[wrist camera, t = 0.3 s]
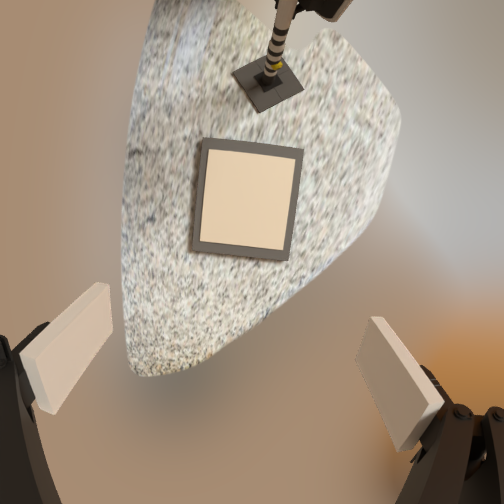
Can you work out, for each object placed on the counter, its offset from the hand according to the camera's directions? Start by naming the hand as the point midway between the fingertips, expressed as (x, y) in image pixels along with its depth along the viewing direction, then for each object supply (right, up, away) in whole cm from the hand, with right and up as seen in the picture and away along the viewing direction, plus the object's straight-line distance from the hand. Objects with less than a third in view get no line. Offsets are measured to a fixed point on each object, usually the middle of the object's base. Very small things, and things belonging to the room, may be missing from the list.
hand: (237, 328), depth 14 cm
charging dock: (0, +11, +26) cm, 28 cm away
